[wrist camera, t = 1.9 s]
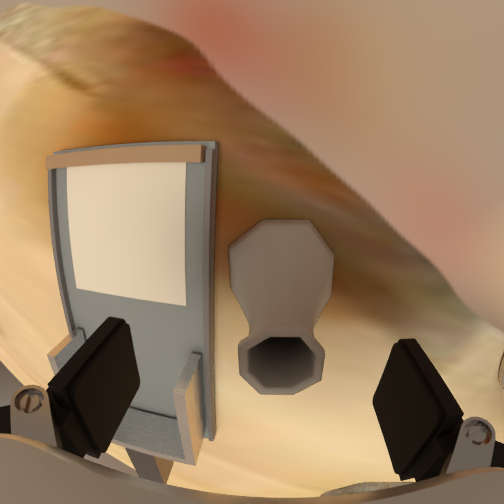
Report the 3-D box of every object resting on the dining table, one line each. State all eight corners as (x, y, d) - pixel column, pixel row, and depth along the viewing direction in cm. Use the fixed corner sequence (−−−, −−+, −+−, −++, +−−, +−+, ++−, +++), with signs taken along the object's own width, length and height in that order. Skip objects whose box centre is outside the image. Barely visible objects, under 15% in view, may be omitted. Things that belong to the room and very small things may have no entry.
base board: (218, 142, 17) (210, 139, 15) (216, 432, 25) (211, 449, 23) (61, 151, 18) (42, 152, 16) (103, 404, 26) (94, 417, 23)
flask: (211, 236, 19) (148, 305, 9) (317, 200, 18) (360, 240, 8) (248, 328, 21) (226, 436, 11) (345, 300, 19) (387, 401, 10)
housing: (201, 354, 20) (184, 394, 16) (209, 470, 26) (202, 500, 21) (75, 328, 21) (47, 354, 17) (118, 446, 26) (105, 471, 22)
